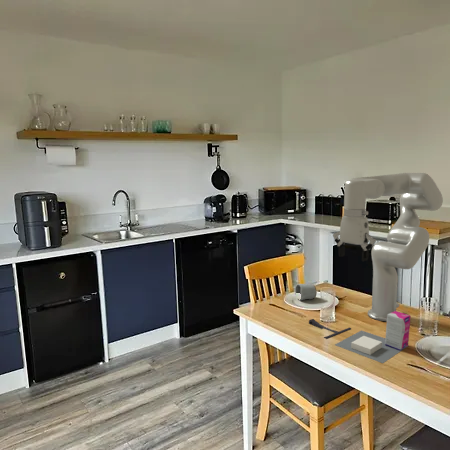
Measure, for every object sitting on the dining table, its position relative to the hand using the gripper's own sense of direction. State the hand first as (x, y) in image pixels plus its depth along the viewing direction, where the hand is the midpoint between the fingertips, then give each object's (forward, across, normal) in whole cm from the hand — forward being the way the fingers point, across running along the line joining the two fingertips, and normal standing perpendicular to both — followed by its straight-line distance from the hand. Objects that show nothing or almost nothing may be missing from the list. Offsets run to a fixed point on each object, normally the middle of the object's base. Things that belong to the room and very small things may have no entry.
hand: (352, 258), depth 151 cm
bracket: (+29, +7, +7) cm, 31 cm away
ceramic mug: (+29, +35, -16) cm, 48 cm away
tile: (+26, -13, +7) cm, 30 cm away
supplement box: (+28, -19, +2) cm, 34 cm away
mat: (+28, -13, +8) cm, 32 cm away
